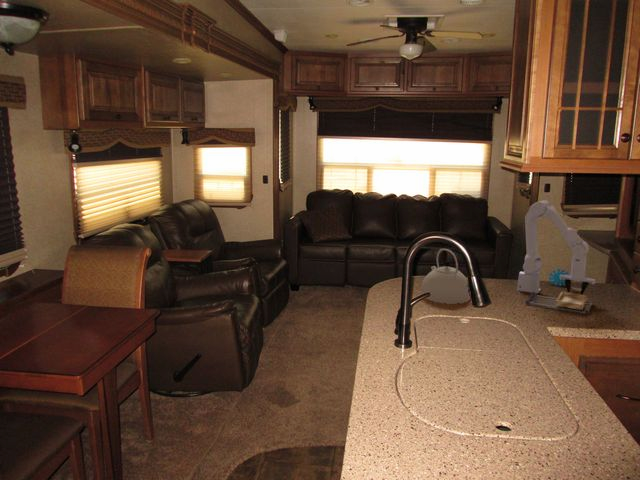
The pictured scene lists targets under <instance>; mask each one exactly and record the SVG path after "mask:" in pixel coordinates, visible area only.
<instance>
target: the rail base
mask: <svg viewBox="0 0 640 480" xmlns="http://www.w3.org/2000/svg"><path fill="white" fill-rule="evenodd" d="M557 298H558V297H552V296H551V297H550V296H544V295H540V294H539V295H538V294H536V293H535V292H532V293H530V295H529V296H528V297H527V299H526V300H525V305H528V306H533V307H538V308H544V309H549V310H556V311H559V312H561V311H562V312H568V313H573V314H578V315H583V316H589V313H590V310H591V308H592V306H593V300H592V301H591V300H589V302H586V303H585V305H584V308H583V310H577V309H573V308H567V307H559V306H555V304H556V299H557Z"/></svg>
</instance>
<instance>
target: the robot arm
mask: <svg viewBox="0 0 640 480" xmlns="http://www.w3.org/2000/svg"><path fill="white" fill-rule="evenodd" d="M541 217H543V218H547V219H550V220H551V222H553V223H554V224H555V225H556V227H557V228H558V229H559V230H560V231H561V237H562V238H563V239H564V240H565V242H566V243H567V244H568V246H569V247H570V248H571V250H570V251H571V252H572V259H571V268H570V269H571V270H570V274H565V275H560V278H559V279H560V280H565V287H566V292H569V293H570V289H571V287H572V283H573V282H577V283H581V288H580V289H581V295H584V293H585V291H586V289H587V287H588V286H589V284H591V285H595V283H596V279H594V278H589V277H585V274H586V267H587V253H588V252H589V250H590V247H589V246H590V245H589V244H588V242H587V241H585V240H584V238H581V237H580V235H579V234H578V230H577V229H574V228H572V227H569V226H568V225H567V223H566V222H565V221H564V219H563V217H562V216H561V215H560V213H559V212H558V211H557V209H556V207H555V206H554V205H552V203H551V201H549V200H546V199H544V200H540V201H535V202H534V203H532V204H531V205H530V206H529V208H528V211H527V213H526V214H525V216H524V223H525V226H524V228H525V230H524V231H525V245H526V246H525V248H526V254H525V257H524V263H523V265H522V270H523V271H519V273H518V278H517V279H518V280H517V288H516V290H517V291H519V292H524V293H525V292H526V293H530V294H532V292H535V295H538V294H539V292H540V291H541V290H542V289H541V288H540V280H541V279H540V278H541V269H543V265H544V264H543V261H542V259H541V255H540V253H539V240H538V239H539V238H538V220H539V219H540V218H541Z"/></svg>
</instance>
